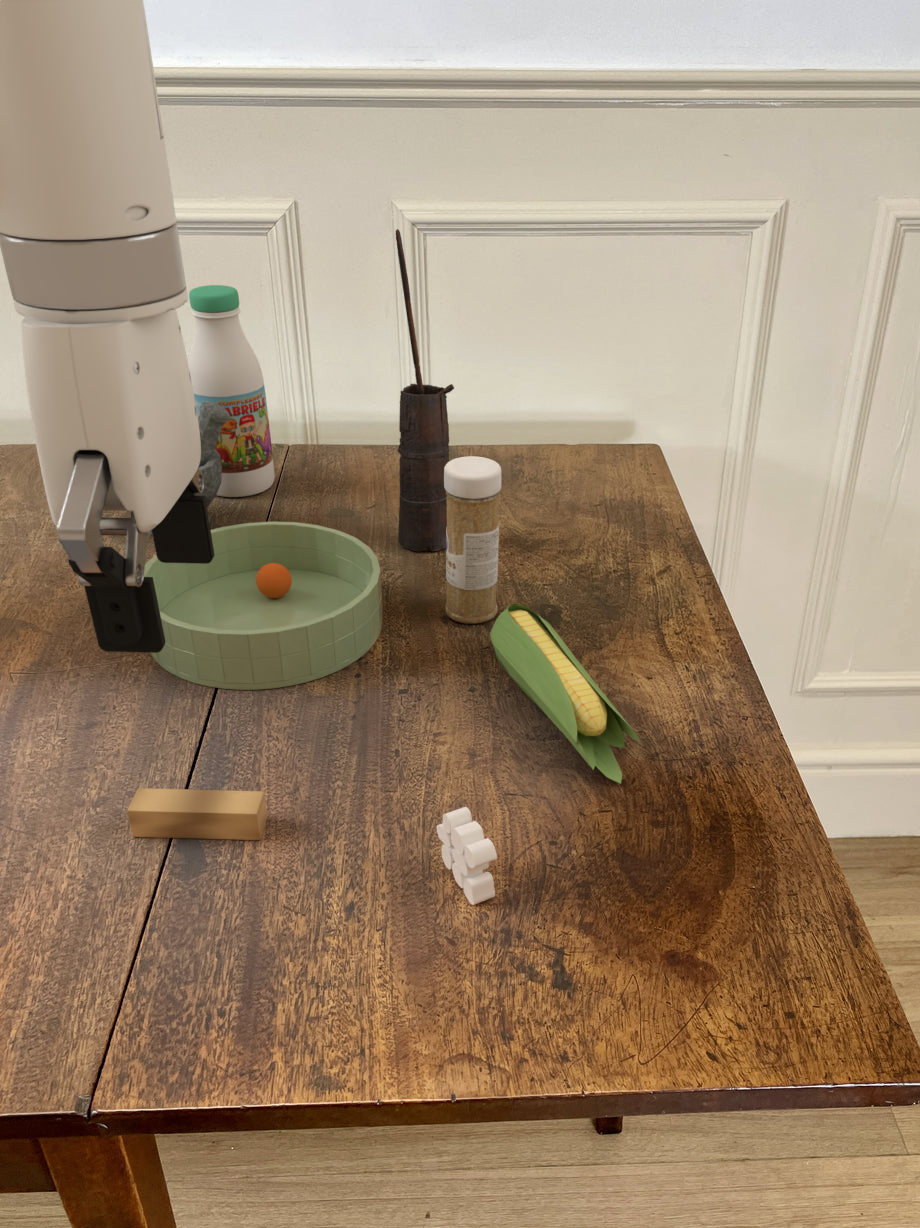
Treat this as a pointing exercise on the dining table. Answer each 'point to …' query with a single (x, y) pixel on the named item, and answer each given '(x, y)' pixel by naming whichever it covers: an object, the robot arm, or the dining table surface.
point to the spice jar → (472, 538)
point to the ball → (273, 580)
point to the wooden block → (198, 814)
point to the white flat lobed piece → (467, 854)
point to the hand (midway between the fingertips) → (162, 601)
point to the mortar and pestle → (210, 448)
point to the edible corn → (560, 686)
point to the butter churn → (421, 450)
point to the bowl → (268, 607)
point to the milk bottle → (231, 390)
